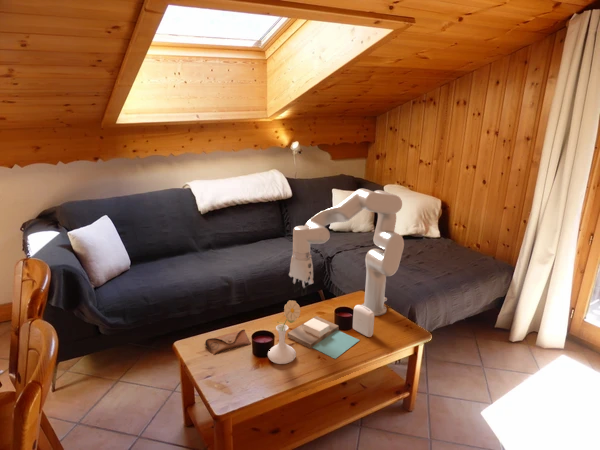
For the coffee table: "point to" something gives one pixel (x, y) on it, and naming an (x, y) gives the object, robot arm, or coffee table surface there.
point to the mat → (336, 344)
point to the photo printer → (363, 320)
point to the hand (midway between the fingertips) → (300, 292)
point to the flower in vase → (282, 350)
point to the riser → (308, 338)
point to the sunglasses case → (227, 342)
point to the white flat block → (316, 327)
